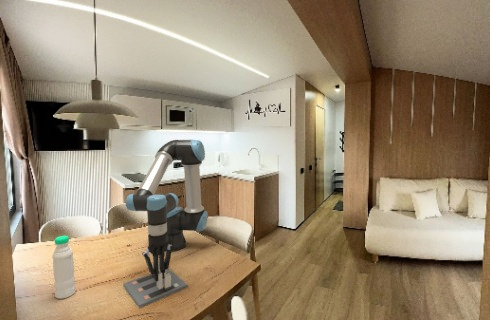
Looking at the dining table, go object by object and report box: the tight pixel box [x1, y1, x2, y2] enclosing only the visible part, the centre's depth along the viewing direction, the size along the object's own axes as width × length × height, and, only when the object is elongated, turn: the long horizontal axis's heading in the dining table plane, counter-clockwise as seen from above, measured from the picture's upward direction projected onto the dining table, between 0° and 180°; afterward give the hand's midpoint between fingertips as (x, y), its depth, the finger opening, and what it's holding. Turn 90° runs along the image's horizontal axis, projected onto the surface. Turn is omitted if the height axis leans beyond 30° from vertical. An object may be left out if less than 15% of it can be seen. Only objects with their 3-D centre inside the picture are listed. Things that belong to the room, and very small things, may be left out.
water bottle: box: [51, 235, 76, 300], centre depth 108 cm, size 7×7×25 cm
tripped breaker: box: [163, 273, 172, 291], centre depth 111 cm, size 2×3×6 cm
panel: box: [122, 267, 189, 309], centre depth 114 cm, size 20×21×1 cm
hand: (159, 287), depth 109 cm, fingers closed
